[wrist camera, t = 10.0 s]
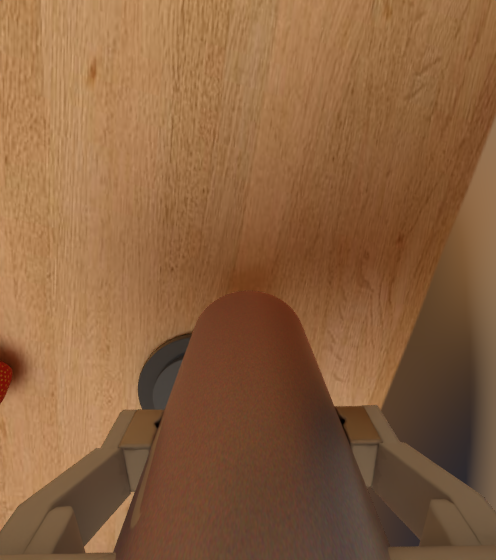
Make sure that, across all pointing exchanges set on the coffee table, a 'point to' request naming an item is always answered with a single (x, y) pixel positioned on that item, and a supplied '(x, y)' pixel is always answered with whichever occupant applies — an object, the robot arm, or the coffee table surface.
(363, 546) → the beverage can
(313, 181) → the coffee table surface
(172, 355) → the saucer
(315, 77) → the coffee table surface
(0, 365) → the fruit
